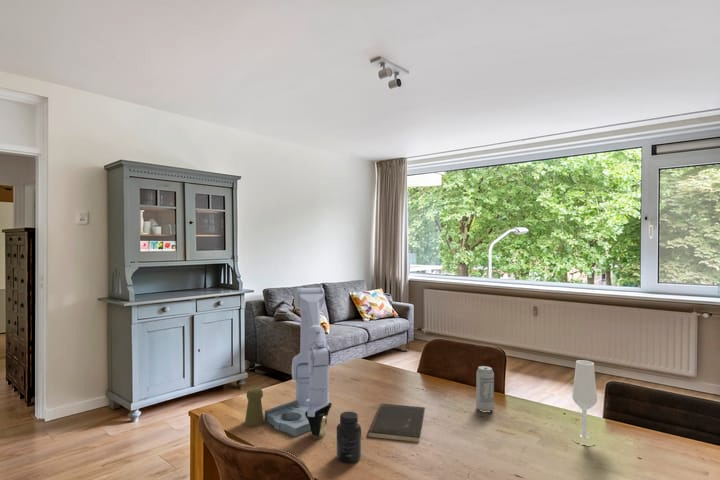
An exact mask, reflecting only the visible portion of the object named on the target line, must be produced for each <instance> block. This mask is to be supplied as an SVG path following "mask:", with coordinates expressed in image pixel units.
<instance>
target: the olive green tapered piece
mask: <svg viewBox="0 0 720 480" xmlns="http://www.w3.org/2000/svg"><path fill="white" fill-rule="evenodd" d="M263 397H264V392H263V390H262V388H260V387H253V388H250V389H248V390H247V392H246V398H247V406H246V414H245V421H244V425H245V426H247V427H250V428H251V427H253V428H254V427H259V426H261V425H262V426H263V424H264V423H265V422H264V421H265V420H264V413H263V405H262V404H263V403H262V399H263Z"/></svg>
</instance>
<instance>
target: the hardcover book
mask: <svg viewBox="0 0 720 480" xmlns="http://www.w3.org/2000/svg"><path fill="white" fill-rule="evenodd" d="M425 411H426V407H425V406H424V407H423V406H414V405H413V406H411V405H404V404H403V405H402V404H393V403H380V404H379V406H378V409H377V411H376V413H375V415H374V417H373V420H372V422H371V424H370V427H369V429H368V431H367V434H366V435H367V438H369V437H370V438H377V439H388V440H398V441H405V442H414V443H419V441H420V438H421V434H422V428H423V422H424V416H425Z"/></svg>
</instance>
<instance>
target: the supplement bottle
mask: <svg viewBox="0 0 720 480" xmlns="http://www.w3.org/2000/svg"><path fill="white" fill-rule="evenodd" d="M358 417H359V416H358V414H357V413H356V412H355V411H344V412H342V413H340V415H339V418H340V419H339V423H338V425H337V426H336V458H337V460H338V461H339V462H341V463H343V464H353V463H354V464H355V463H356V462H358V461H360V460H361V457H362V426H361V424H360V423H359V419H358Z"/></svg>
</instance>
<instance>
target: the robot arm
mask: <svg viewBox="0 0 720 480" xmlns="http://www.w3.org/2000/svg"><path fill="white" fill-rule="evenodd" d="M325 297H326V296H325V290H324V288H323V286H320V287H296V288H295V289H294V308H295V309H297V310H299V312H300V334H299V335H300V337H299V341H300V344H299V346H300V347H299V348H300V349H299V351H300V352H299V353H298V354H297V355H295V356H294V357H293V358H292V361H291V362H292V363H291V378H292V380H293V381H295V400H297V401H298V404H300V405H302V406H304V407H307V408H309V409H308V410H307V411H306V412H305V416H306V418H307V419H308V421H309V424H310V428H311V430H310V432H311V436H312V435H316V436H319V434H320V428H321V422H322V419H323V416H324V414H326V415H327V417H328V415H329V412H330V410H331V408H332V402H330V393H329V373H330V372H329V367H330V366H331V363H332V353H331V349H330V346H329V344H328V343H327V337H326V331H325V328H324V327H323V326H321V313H320V311H321V310H320V309H321V308H323V305H324V303H325ZM326 420H327V421H328V418H327V419H326ZM326 420H325V426H326V425H327V424H326Z"/></svg>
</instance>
